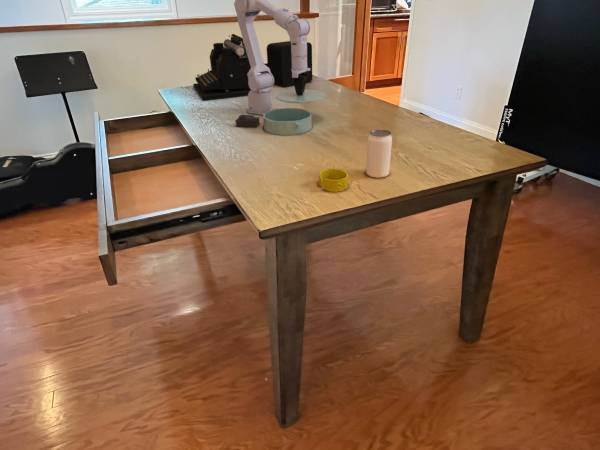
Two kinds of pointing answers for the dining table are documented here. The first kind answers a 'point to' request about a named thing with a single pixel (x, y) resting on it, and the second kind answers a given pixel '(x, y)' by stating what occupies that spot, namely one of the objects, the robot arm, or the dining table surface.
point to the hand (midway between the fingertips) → (300, 93)
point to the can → (379, 153)
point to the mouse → (247, 121)
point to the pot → (287, 121)
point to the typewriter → (225, 71)
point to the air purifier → (285, 62)
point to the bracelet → (333, 180)
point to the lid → (300, 96)
